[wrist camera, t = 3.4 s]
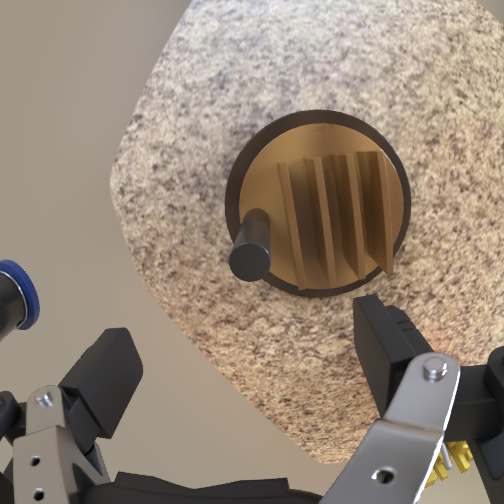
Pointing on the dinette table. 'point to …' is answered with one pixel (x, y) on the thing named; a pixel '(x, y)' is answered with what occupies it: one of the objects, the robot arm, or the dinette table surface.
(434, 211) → the dinette table surface
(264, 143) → the base
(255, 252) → the plate rack
